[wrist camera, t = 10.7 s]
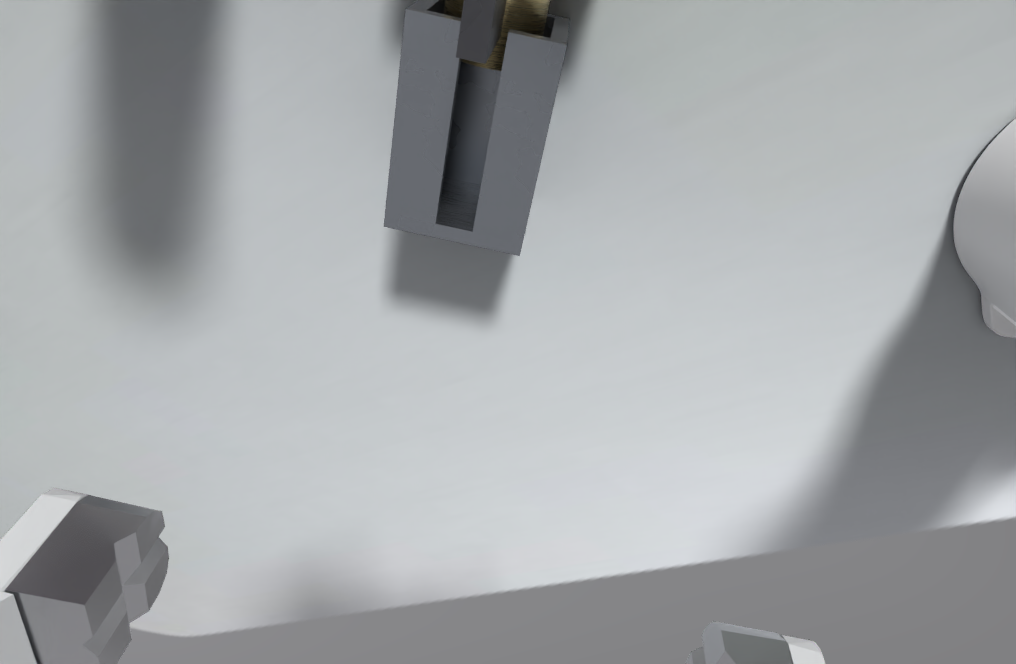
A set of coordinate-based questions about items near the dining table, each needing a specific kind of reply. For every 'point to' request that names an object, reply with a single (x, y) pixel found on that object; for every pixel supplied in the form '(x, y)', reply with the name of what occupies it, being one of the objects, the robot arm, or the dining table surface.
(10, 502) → the dining table surface
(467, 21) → the tube
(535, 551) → the dining table surface
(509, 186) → the sleeve
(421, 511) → the dining table surface
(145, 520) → the robot arm
